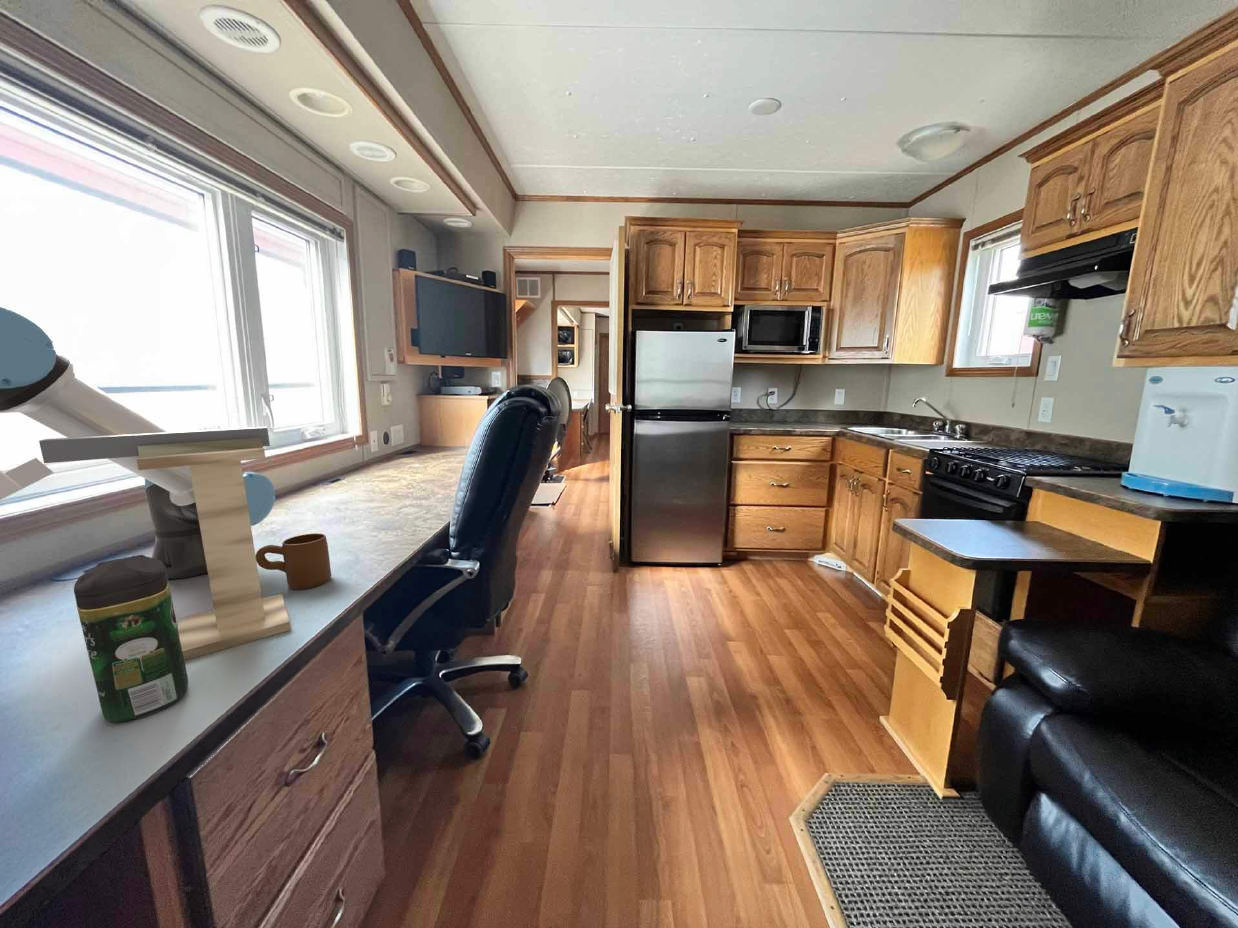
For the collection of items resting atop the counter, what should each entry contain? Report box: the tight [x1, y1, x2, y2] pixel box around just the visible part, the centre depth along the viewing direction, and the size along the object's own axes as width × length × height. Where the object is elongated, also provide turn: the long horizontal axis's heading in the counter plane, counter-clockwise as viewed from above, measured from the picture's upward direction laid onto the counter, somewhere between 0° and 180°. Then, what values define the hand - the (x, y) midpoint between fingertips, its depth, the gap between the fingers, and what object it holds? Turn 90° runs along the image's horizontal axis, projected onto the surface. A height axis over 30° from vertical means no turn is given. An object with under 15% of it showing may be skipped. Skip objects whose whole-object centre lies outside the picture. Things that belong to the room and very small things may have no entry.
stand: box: [136, 438, 291, 661], centre depth 75 cm, size 14×14×32 cm
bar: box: [38, 426, 271, 464], centre depth 70 cm, size 3×24×3 cm, turn 130°
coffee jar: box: [73, 554, 189, 724], centre depth 58 cm, size 10×8×19 cm
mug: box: [255, 532, 332, 591], centre depth 94 cm, size 12×8×9 cm, turn 120°
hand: (29, 471), depth 61 cm, fingers open, 13 cm apart
